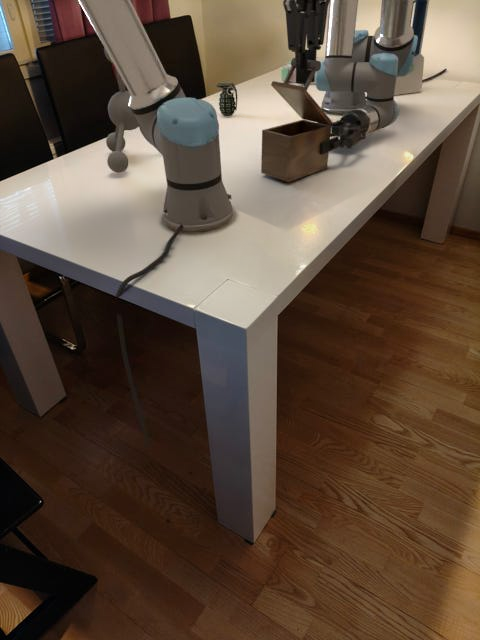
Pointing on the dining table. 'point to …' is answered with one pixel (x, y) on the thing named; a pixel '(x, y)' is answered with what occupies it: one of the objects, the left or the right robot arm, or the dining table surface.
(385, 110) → the right robot arm
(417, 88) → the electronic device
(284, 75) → the decorative block
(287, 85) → the lid
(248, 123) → the dining table surface
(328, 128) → the chest
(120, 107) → the molecular model
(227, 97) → the grenade
